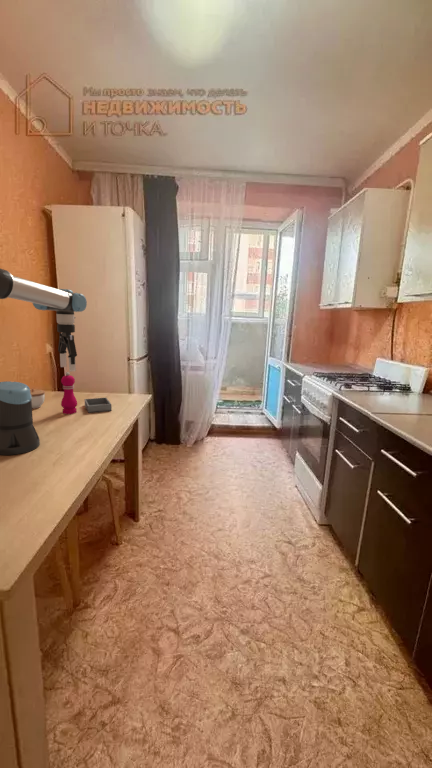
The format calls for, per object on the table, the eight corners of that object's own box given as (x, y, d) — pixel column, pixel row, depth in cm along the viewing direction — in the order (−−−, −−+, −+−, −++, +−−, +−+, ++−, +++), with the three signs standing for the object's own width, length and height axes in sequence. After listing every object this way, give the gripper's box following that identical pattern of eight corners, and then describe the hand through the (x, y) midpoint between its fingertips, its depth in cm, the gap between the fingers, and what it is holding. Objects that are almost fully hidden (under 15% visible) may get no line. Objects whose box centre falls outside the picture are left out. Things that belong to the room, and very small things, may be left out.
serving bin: (111, 410, 172) (111, 404, 172) (88, 413, 167) (88, 406, 167) (106, 403, 184) (106, 397, 184) (84, 405, 179) (84, 399, 179)
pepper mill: (58, 413, 164) (56, 372, 160) (67, 409, 171) (65, 370, 167) (72, 415, 163) (70, 374, 159) (80, 410, 170) (78, 371, 166)
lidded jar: (38, 410, 168) (37, 391, 166) (17, 409, 168) (15, 390, 167) (49, 404, 179) (48, 386, 177) (29, 403, 179) (27, 386, 177)
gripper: (83, 325, 152) (85, 372, 156) (66, 322, 170) (68, 364, 175) (65, 325, 147) (67, 373, 151) (49, 322, 166) (52, 365, 170)
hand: (67, 369), depth 163 cm, fingers open, 13 cm apart
